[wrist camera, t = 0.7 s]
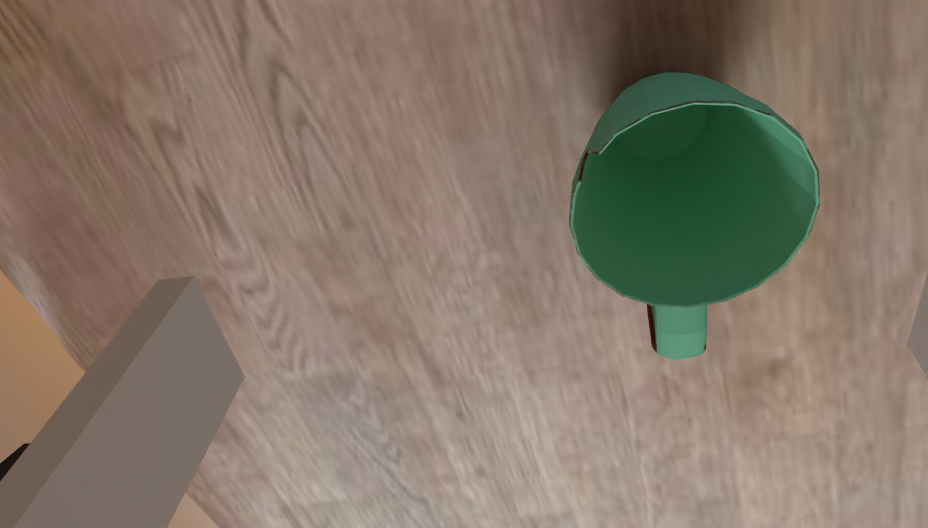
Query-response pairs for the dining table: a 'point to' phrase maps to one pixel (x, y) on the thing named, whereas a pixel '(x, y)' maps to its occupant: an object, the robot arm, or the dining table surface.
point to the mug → (690, 201)
